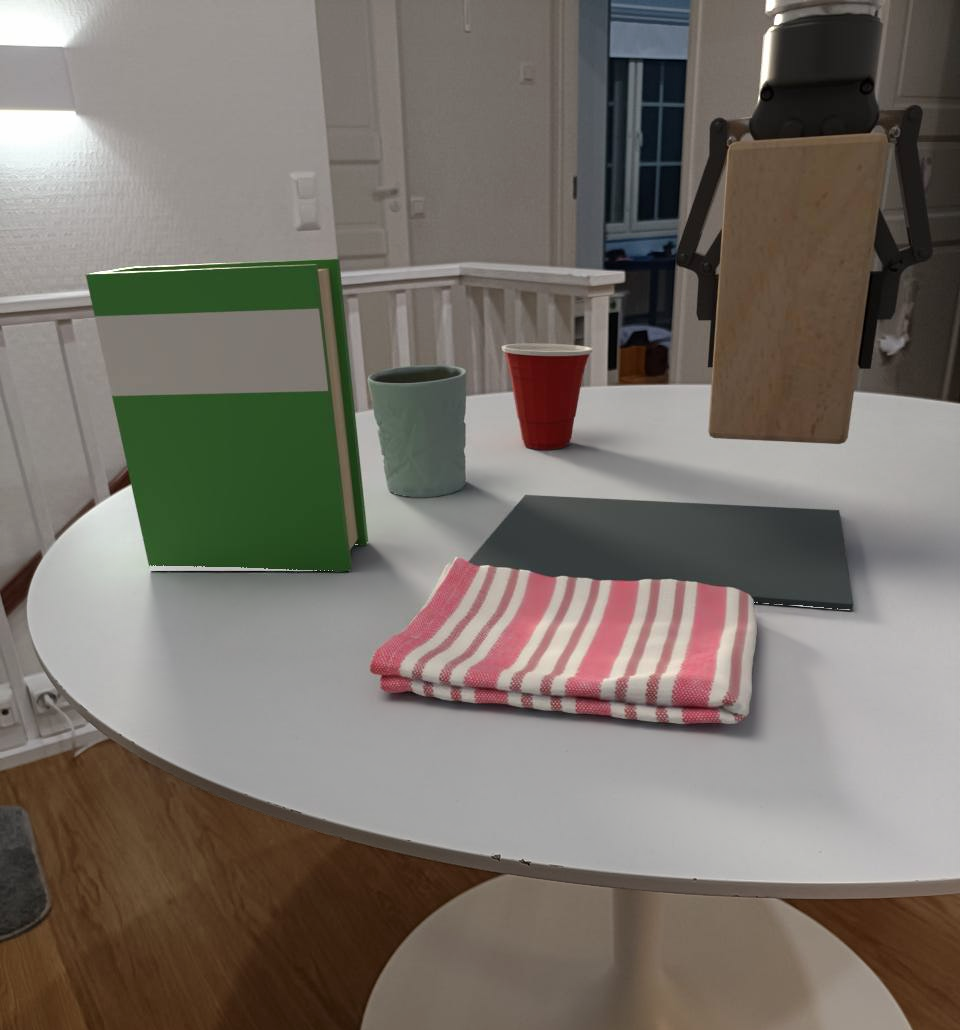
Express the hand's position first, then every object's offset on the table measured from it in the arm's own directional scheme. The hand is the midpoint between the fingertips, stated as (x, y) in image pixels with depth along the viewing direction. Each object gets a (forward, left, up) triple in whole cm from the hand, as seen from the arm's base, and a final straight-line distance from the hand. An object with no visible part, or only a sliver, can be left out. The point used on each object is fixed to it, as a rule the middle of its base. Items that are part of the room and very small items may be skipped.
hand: (787, 365), depth 70 cm
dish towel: (+12, +22, -16) cm, 29 cm away
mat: (+9, 0, -15) cm, 18 cm away
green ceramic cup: (+36, -14, -16) cm, 42 cm away
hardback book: (+43, +9, -16) cm, 47 cm away
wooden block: (0, 0, -5) cm, 5 cm away
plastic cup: (+27, -34, -16) cm, 46 cm away
